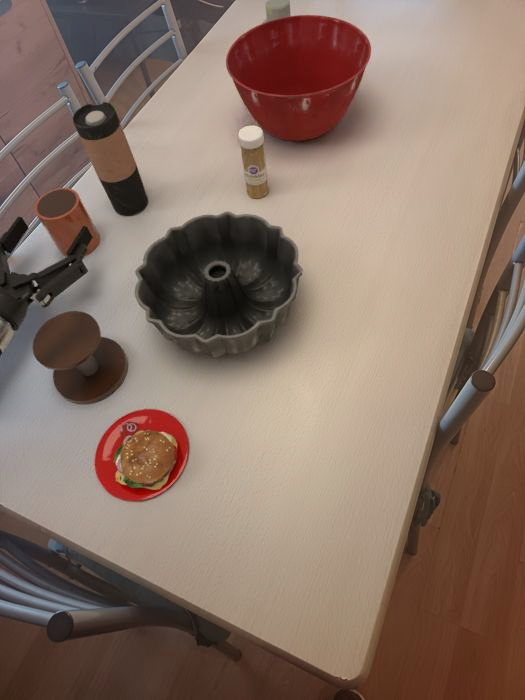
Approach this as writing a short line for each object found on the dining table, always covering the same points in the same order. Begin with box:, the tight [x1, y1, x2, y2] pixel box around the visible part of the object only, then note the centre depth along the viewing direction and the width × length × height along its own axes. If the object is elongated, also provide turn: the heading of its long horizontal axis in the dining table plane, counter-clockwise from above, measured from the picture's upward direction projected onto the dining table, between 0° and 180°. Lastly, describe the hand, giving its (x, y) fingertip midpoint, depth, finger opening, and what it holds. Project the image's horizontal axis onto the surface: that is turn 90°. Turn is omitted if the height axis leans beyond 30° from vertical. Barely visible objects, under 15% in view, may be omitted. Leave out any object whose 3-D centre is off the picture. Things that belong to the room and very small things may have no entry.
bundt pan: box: [134, 210, 303, 360], centre depth 82 cm, size 26×26×10 cm
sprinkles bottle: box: [237, 124, 270, 199], centre depth 95 cm, size 5×5×13 cm
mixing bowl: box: [225, 14, 372, 142], centre depth 104 cm, size 28×28×16 cm
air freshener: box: [261, 0, 292, 24], centre depth 124 cm, size 11×8×10 cm
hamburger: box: [94, 408, 190, 502], centre depth 71 cm, size 14×14×6 cm
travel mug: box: [72, 101, 149, 217], centre depth 94 cm, size 8×8×20 cm
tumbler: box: [33, 187, 101, 258], centre depth 94 cm, size 8×8×10 cm
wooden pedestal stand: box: [32, 310, 129, 405], centre depth 78 cm, size 12×12×10 cm
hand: (55, 226), depth 91 cm, fingers open, 13 cm apart
